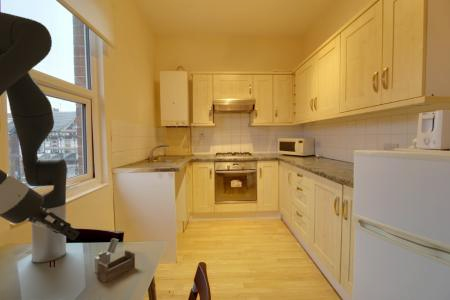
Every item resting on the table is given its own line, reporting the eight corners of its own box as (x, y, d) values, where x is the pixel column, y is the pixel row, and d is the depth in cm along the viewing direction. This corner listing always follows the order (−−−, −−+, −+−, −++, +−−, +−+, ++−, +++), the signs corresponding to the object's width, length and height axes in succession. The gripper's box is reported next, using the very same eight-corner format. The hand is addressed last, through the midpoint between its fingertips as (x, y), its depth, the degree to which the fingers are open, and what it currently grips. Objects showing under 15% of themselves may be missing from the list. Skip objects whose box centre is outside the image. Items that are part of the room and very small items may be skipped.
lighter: (98, 273, 67) (98, 246, 66) (94, 272, 67) (94, 245, 67) (118, 262, 73) (118, 237, 73) (115, 261, 74) (115, 236, 74)
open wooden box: (97, 278, 64) (97, 262, 64) (126, 263, 72) (126, 249, 72) (106, 282, 62) (106, 266, 62) (134, 267, 70) (134, 253, 70)
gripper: (39, 188, 49) (93, 225, 59) (14, 182, 57) (66, 216, 67) (7, 219, 45) (70, 253, 55) (-16, 208, 52) (44, 240, 62)
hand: (68, 233), depth 61 cm, fingers open, 8 cm apart
